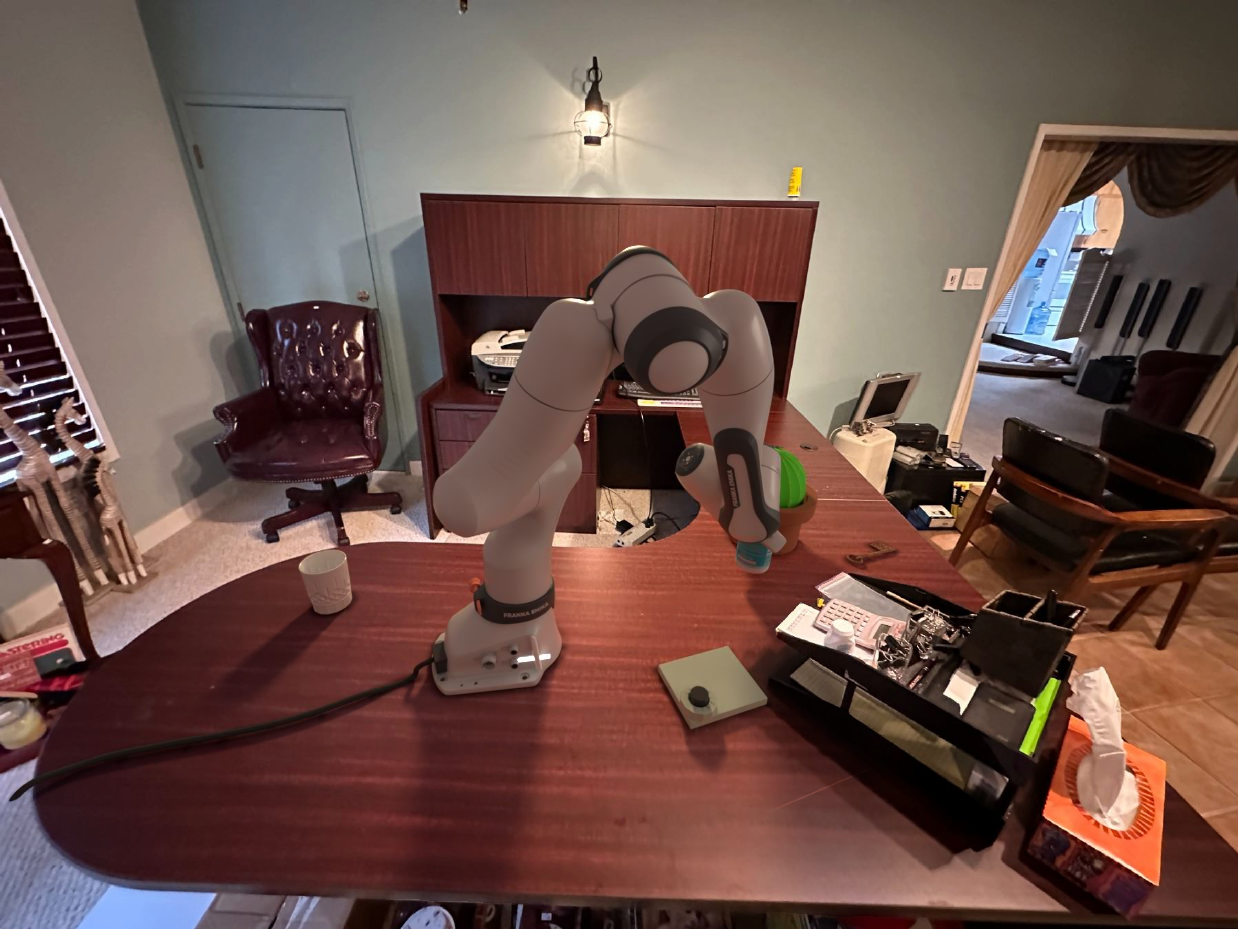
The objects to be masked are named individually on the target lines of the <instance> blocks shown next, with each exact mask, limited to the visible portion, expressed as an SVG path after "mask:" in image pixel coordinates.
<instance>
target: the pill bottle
mask: <svg viewBox="0 0 1238 929" xmlns="http://www.w3.org/2000/svg"><path fill="white" fill-rule="evenodd" d="M736 545H737V544H736ZM772 556H773V555H772V552H771V551H770V550H769V549H767V548H766V547H765V546H764V545H762V544H761V543H760V542H759V543H743V542H740V541H738V545H737V546H736V552H735V557H734V561H735V564H736V566H737V567H738V568H739V569H740V570H742V571H743V572H745V573H749V574H754V575H760V574H764V573H765V572H767V571H768V570H769V569H770V568H769V567H770V564H771V560H772Z"/></svg>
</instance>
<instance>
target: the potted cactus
mask: <svg viewBox="0 0 1238 929" xmlns="http://www.w3.org/2000/svg"><path fill="white" fill-rule="evenodd" d="M770 445H771V446H772V447H773V448H775V449H776V450H777V451H778V452H779V454H780V456H781V480H780V481H781V482H780V505H779V512H780V528H779V529H778V531H779V532H780V533H781V534H782V536H783V537H784V538H785V539H786V543H785V545H784V546H783V547H782V548H781V549H780V550H779V551H778V552H777V553H773V552H772V556H782V555H783V556H784V555H786V554H788V553H791V552H792V551H793V550H794V549H795V548H796V546H797V545H798V541H799V537H800V532H801V528H802V525H804V524H806V523H808V522H809V521H810V520H812V519H813V517H814V515H815V513H816V509H817V505H818V500H819V499H818V498H819V497H818V494H817V492H816V491H815V489H814V488H813V487H811V486H810V485H809V484H807V482H808V481H809V480H808V479H807V475H808V472H806V470H805V468H804V465H803V461H801V462H800V460H799V459H798V455H794V454H793V453H792V452H793V451H788V450H787V448H784V447H783V446H781V445H780V446H779V445H776V446H774V445H772V444H770ZM728 538H729V539H730V540H731V541H732V542H733V543H734V544H736V545H738V541H737V540H735V539H733V538H732V537H731V536H729V535H728Z"/></svg>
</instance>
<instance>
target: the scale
mask: <svg viewBox="0 0 1238 929" xmlns="http://www.w3.org/2000/svg"><path fill="white" fill-rule="evenodd" d="M657 672H658V675H659V676H660V678H661V680H662V681H663V683H664V685H665V687H666V688H667V690H668V692H669V694H670V695H671V697H672V699H673V701H674V703H675V705H676V706H677V708H678V710H679V712H680V713H681V715H682V717H683V719H684V720H685V722H686V724H687V725H688V728H689V729H690V730H693V729H697V728H699V727H702V726H705V725H708V724H711V723H713V722H717V721H720V720H723V719H727V718H729V717H733V716H735V715H738V714H741V713H744V712H748V711H750V710H753V709H757V708H759V707H762V706H765V705H767V703H768V697H767V695H766V694H765V693H764V692H763V690H762V689H761V688H760V686H759V685H758V684H757V682H756V681H755V680H754V678H753V676H751V674H750V673H749V672H748V671H747V669H746V668H745V666H744V665H743V664H742V663H741V661H740V659H738V657H737V656H736V655H735V653H734V652H733V650H732V649H731V648H730V647H729V646H728V645H725V646H721V647H718V648H714V649H709V650H707V651H703V652H699V653H696V654H693V655H689V656H685V657H682V658H678V659H673V660H671V661H667V662H664V663H660V664H658V665H657ZM695 686H702V687H704V688H705V689H706V690H707V691H708V693H709V697H708V703H707V705H706V706H705V707H702V708H700V707H695V706H694V705H692V703H691V702H690V693H691V689H692V688H693V687H695Z"/></svg>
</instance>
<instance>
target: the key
mask: <svg viewBox="0 0 1238 929" xmlns="http://www.w3.org/2000/svg"><path fill="white" fill-rule="evenodd" d="M869 545H870V547H873V548H874V549H877V550H878V551H875V552H870V553H865V554H861V555H859V556H858V555H855V554H848V555H846V559H847V560H848V561H849V562H851V563H852V564H856V565H861V564H863V563H864V559H869V558H871V557H876V556H879V555H880V556H881V555H883V554H887V553H891V552H895V551H897V547H891V546H889V545H887V544H885V543H884V542H882V541H878V542H874V543H870V544H869ZM852 558H854V559H855V560H854V559H852ZM858 560H859V561H858Z"/></svg>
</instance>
